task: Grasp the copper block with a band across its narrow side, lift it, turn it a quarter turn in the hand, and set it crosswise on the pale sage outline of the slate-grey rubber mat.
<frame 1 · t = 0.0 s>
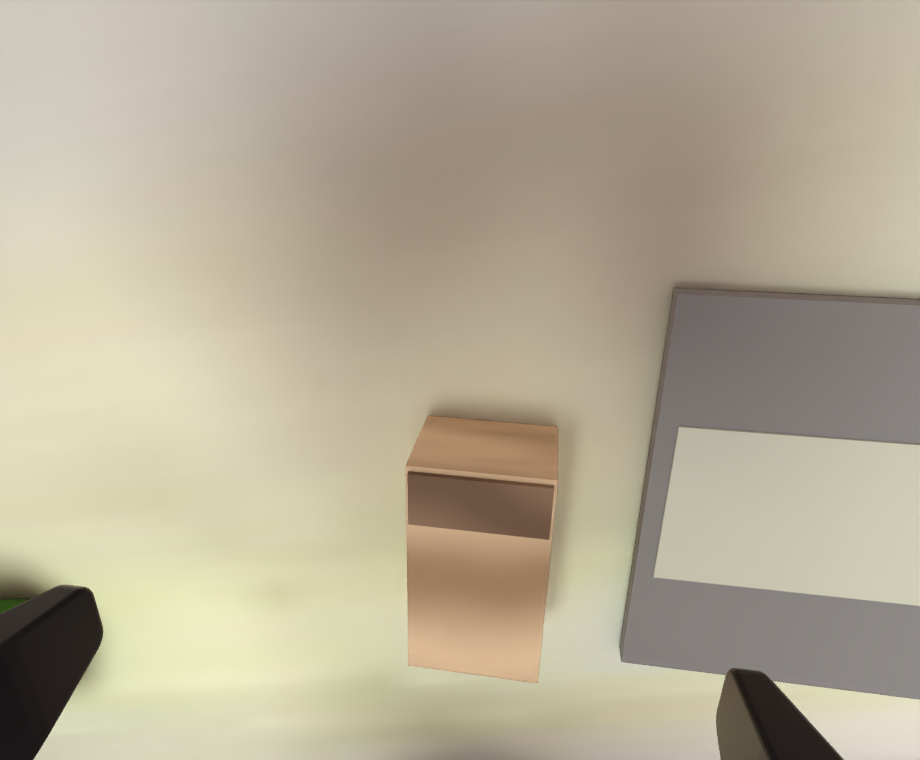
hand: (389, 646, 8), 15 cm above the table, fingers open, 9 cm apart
mat: (808, 506, 23), on the table
copper block with band: (487, 515, 25), on the table
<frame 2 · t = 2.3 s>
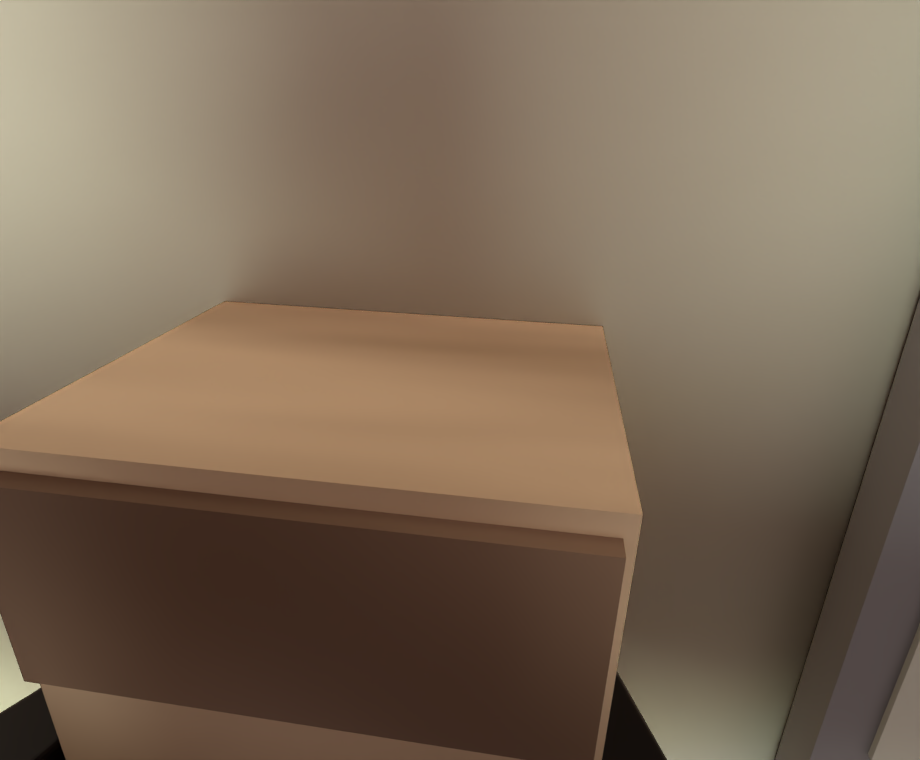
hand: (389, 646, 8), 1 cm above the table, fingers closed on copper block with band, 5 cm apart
copper block with band: (409, 586, 10), on the table, touching gripper
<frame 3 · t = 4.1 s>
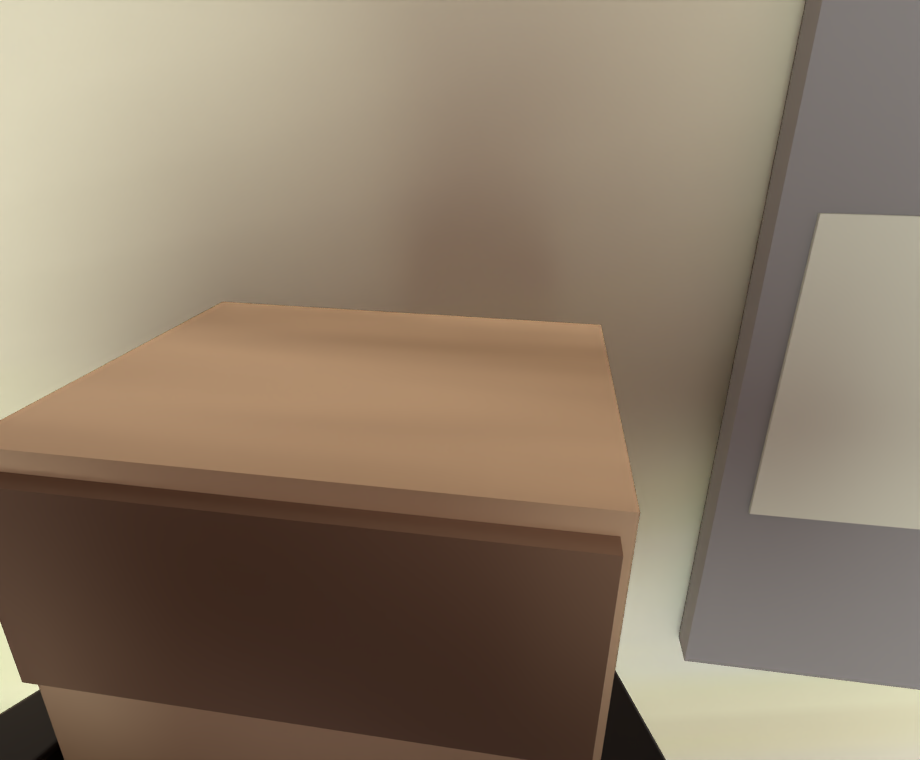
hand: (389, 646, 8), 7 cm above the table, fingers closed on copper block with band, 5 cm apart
copper block with band: (409, 586, 10), point 6 cm above the table, touching gripper
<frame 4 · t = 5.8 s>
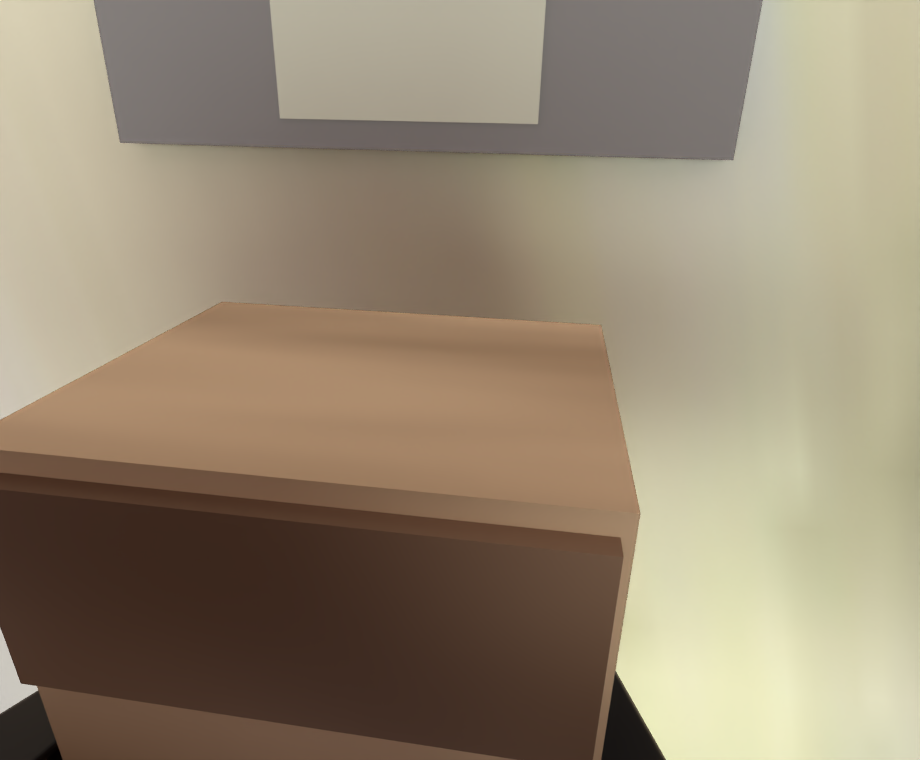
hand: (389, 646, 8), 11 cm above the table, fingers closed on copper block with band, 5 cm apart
copper block with band: (409, 587, 10), point 10 cm above the table, touching gripper
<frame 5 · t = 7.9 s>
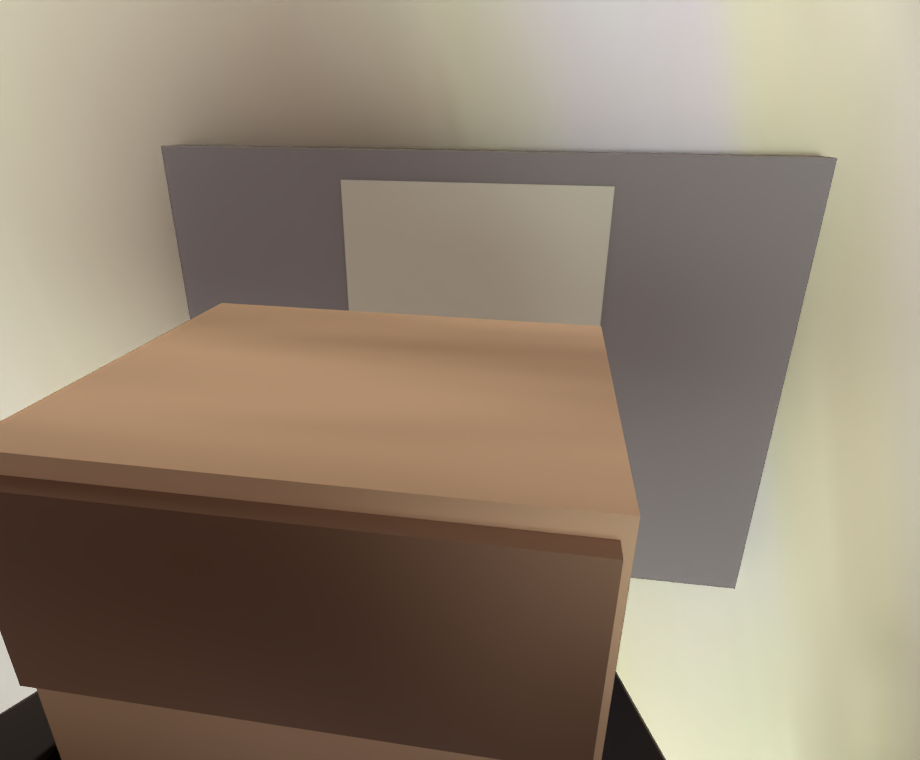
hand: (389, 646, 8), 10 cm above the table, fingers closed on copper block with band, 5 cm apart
mat: (474, 373, 18), on the table
copper block with band: (408, 588, 10), point 9 cm above the table, touching gripper
when the fingers open (3 cm above the table, at t = 9.6 s): copper block with band drops 1 cm, resting on mat.
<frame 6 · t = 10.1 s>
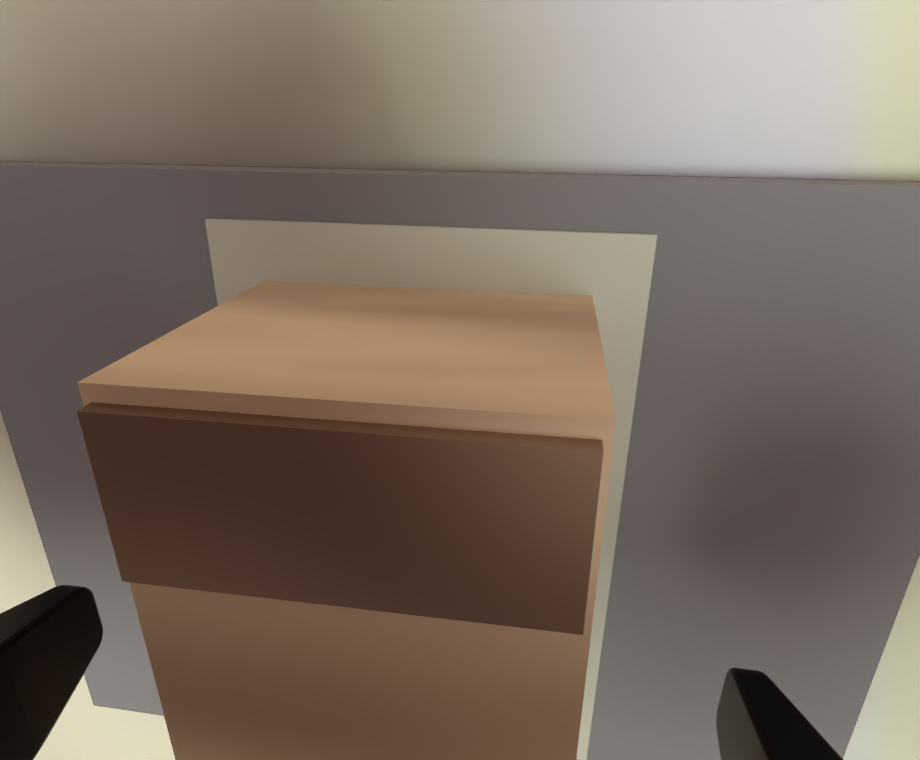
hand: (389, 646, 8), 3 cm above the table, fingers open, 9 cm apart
mat: (433, 502, 12), on the table
copper block with band: (426, 535, 11), point 1 cm above the table, touching mat
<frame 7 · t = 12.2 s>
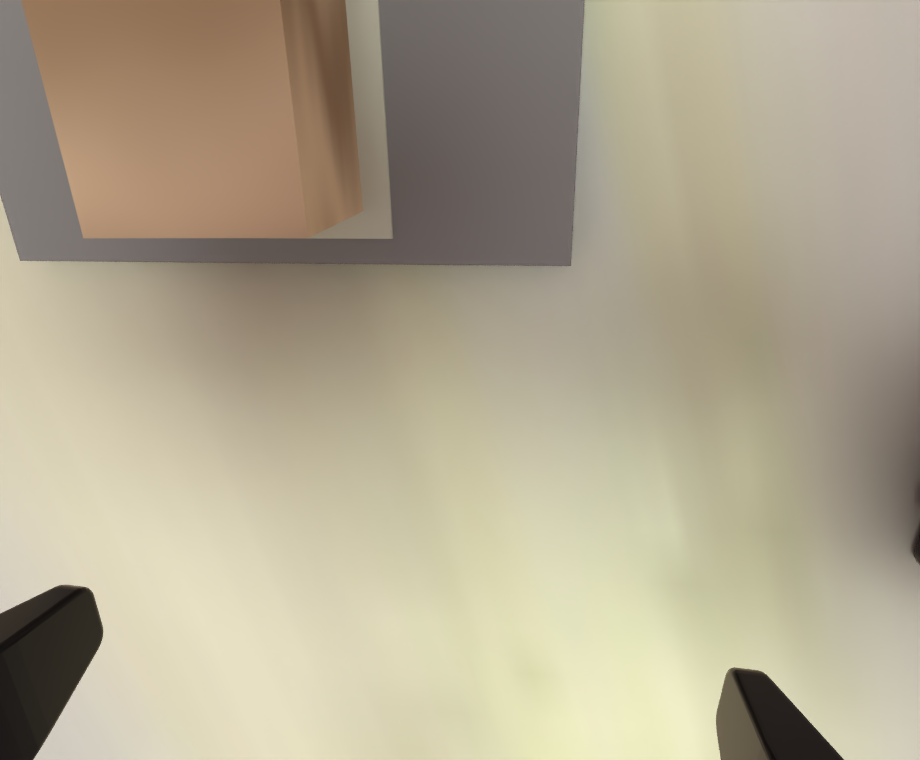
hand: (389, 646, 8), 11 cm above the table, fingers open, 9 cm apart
mat: (259, 19, 15), on the table
copper block with band: (245, 18, 15), point 1 cm above the table, touching mat
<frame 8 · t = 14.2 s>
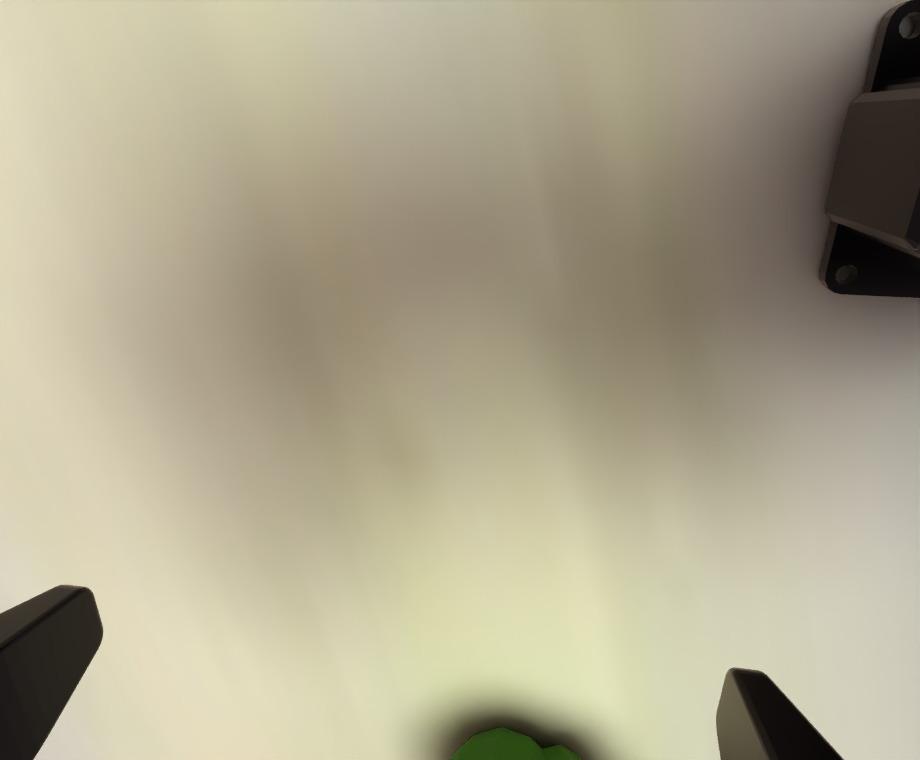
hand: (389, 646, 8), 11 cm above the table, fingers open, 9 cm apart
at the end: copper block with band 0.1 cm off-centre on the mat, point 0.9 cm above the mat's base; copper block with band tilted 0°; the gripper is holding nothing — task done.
